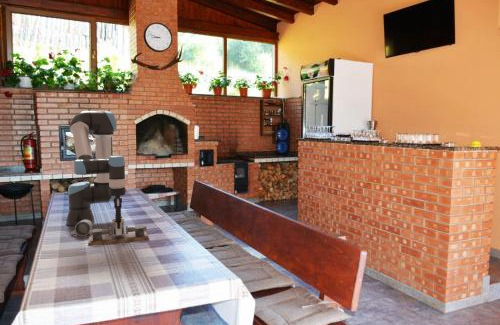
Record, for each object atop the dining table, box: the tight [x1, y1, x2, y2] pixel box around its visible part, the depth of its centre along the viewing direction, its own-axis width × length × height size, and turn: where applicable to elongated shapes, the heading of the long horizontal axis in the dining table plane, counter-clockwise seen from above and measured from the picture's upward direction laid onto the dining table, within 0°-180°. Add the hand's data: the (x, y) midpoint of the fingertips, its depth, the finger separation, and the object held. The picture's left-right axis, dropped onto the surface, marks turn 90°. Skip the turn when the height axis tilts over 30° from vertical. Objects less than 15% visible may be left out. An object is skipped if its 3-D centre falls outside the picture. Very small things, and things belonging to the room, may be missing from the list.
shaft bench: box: [87, 224, 150, 246], centre depth 195 cm, size 28×11×7 cm, turn 110°
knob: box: [112, 218, 125, 235], centre depth 195 cm, size 5×5×7 cm
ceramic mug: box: [70, 220, 94, 237], centre depth 204 cm, size 11×8×8 cm
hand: (118, 233), depth 195 cm, fingers closed on knob, 5 cm apart
